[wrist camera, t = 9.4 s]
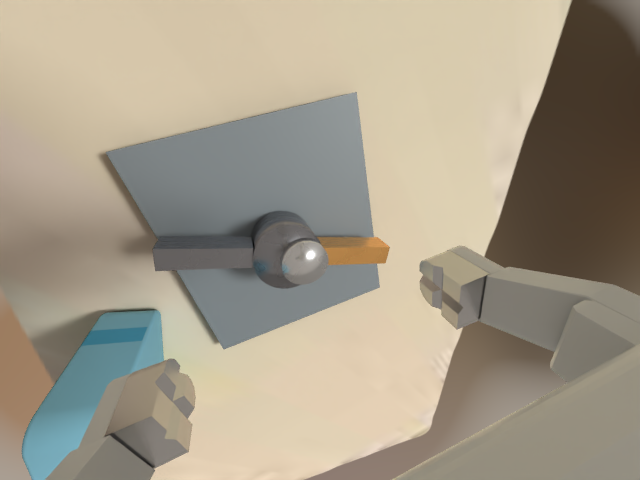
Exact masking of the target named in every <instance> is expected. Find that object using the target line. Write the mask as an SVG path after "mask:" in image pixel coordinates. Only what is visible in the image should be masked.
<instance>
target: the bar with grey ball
mask: <svg viewBox="0 0 640 480" xmlns="http://www.w3.org/2000/svg"><path fill="white" fill-rule="evenodd" d="M389 248H390V247H389V246H388V245H386V244H385V243H384V242H383V241H381V240H380V239H379V238H378V237H316V235H315V234H314V232H313V231H312V230H311V228H310V227H309V226H308V224H307V223H306V222H305V220H304V219H303V218H302V217H300V216H299V215H297V214H295V213H293V212H289V211H276V212H272V213H270V214H267V215H266V216H264V217H263V218H261V219H260V220H259V221H258V222H257V223H256V225H255V226H254V228H253V230H252V232H251V236H250V237H241V236H160V238H159V240H158V241H157V243H156V244H155V246H154V248H153V257H154V264H155V271H168V270H198V269H228V268H253V265H254V269H255V272H256V274H257V276H258V277H259V278H260V279H261V280H262V281H263V282H264V283H266V284H267V285H269V286H272V287H275V288H281V289H287V288H293V287H297V286H299V285H304V284H309V283H312V282H314V281H316V280H318V279H319V278H320V277H321V276H322V275H323V274H324V273H325V271H326V269H327V267H328V265H347V264H377V263H386V259H387V256H388V252H389Z"/></svg>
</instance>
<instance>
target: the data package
mask: <svg viewBox="0 0 640 480" xmlns="http://www.w3.org/2000/svg"><path fill="white" fill-rule="evenodd" d="M162 361H164V356H163V342H162V327H161V315H160V312H159V311H157V310H151V311H130V312H109V313H104V314H102V315H101V316H100V318H99V319H98V320H97V322H96V323H95V325H94V326H93V328H92V329H91V331H90V332H89V334H88V335H87V337H86V338H85V340H84V341H83V343H82V344H81V346H80V347H79V349H78V350H77V352H76V353H75V355H74V356H73V358H72V359H71V361H70V362H69V364H68V365H67V367H66V368H65V370H64V371H63V373H62V374H61V376H60V377H59V378H58V380H57V381H56V383H55V384H54V386H53V387H52V389H51V391H50V392H49V393H48V395H47V396H46V398H45V399H44V401H43V402H42V404H41V405H40V407H39V408H38V410H37V411H36V413H35V414H34V416H33V417H32V419H31V421H30V423H29V425H28V427H27V430H26V433H25V436H24V439H23V444H22V457H23V460H24V462H25V465H26V467H27V469H28V471H29V474H30V476H31V478H32V480H45V479H46V478H47V477H48V476H49V475H50V474H51V472H52V471H53V470H54V469H55V468H56V467H57V466H58V465H59V464H60V463H61V461H62V460H63V459H64V458H65V457H66V456H67V455H68V454H69V453H70V452H71V451H73V450H75V449H78V447H79V445H80V443H81V440H82V438H83V436H84V434H85V432H86V430H87V428H88V426H89V423H90V421H91V419H92V417H93V415H94V413H95V411H96V408H97V406H98V404H99V402H100V400H101V398H102V396H103V394H104V391H105V389H106V387H107V385H108V384H109V383H110V382H111V381H113V380H114V379H117V378H119V377H122V376H125V375H128V374H131V373H133V372H135V371H138V370H140V369H143V368H146V367H149V366H151V365H154V364H157V363H160V362H162Z"/></svg>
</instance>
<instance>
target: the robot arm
mask: <svg viewBox="0 0 640 480" xmlns="http://www.w3.org/2000/svg"><path fill="white" fill-rule="evenodd" d="M420 272H421V273H422V274H423V276H422V278H421V280H420V290H421V292H422V295H423V297H424V298H425V299H426V301H427V302H428V303H429V304H430V305H431V306H432V307H436V308H439V309H441V315H442V316H443V317H444V318H445V319H446V320H447V321H448V322H449V323H450V324H451V325H453V326H454V327H455V328H456V329H459V328H462V327H464V326H467V325H469V324H471V323H474V322H476V321H479V320H480V322H483V323H485V324H487V325H490V326H492V327H495V328H497V329H500V330H502V331H505V332H507V333H510V334H512V335H515V336H517V337H519V338H522V339H524V340H527V341H529V342H532V343H534V344H536V345H539V346H541V347H544V348H546V349H549V350H551V351H554V352H555V353H554V355H553V358H552V360H551V363H550V367H551V370H552V371H554V372H555V373H556V374H557V375H559V376H560V377H561V378H563V379H564V380H565V381H566V382H567V384H565V385H563V386H561V387H559V388H558V389H556V390H554V391H552V392H550V393H549V394H547V395H545V396H543V397H541V398H539V399H538V400H536V401H534V402H532V403H531V404H528V405H527V406H525V407H523V408H521V409H519V410H517V411H516V412H514V413H512V414H510V415H508V416H507V417H505V418H503V419H501V420H499V421H497V422H496V423H494V424H492V425H490V426H488V427H487V428H485V429H483V430H481V431H479V432H478V433H476V434H474V435H472V436H470V437H468V438H467V439H465V440H463V441H461V442H459V443H457V444H456V445H454V446H452V447H450V448H448V449H447V450H445V451H443V452H441V453H439V454H437V455H436V456H434V457H432V458H430V459H428V460H427V461H425V462H423V463H421V464H419V465H417V466H416V467H414V468H412V469H410V470H408V471H407V472H405V473H403V474H401V475H399V476H397V477H396V478H394V479H392V480H640V296H638V295H636V294H634V293H631V292H629V291H627V290H624V289H622V288H620V287H618V286H615V285H612V284H606V283H600V282H594V281H588V280H582V279H577V278H571V277H565V276H559V275H554V274H547V273H542V272H536V271H531V270H524V269H519V268H513V267H507V268H503V267H501V266H499V265H498V264H496V263H494V262H492V261H490V260H488V259H487V258H485V257H483V256H481V255H479V254H478V253H476V252H474V251H472V250H470V249H468V248H467V247H465V246H457V247H455V248H452V249H450V250H447V251H446V252H443V253H440V254H438V255H435V256H433V257H430V258H428V259H425V260H423V261H421V263H420ZM179 369H180V365H179V364H178V363H177V361H176V360H175V359H168V360H165V361H162V362H160V363H157V364H154V365H151V366H149V367H146V368H143V369H140V370H138V371H135V372H133V373H131V374H128V375H125V376H122V377H119V378H117V379H114V380H113V381H111V382H110V383H109V384H108V385H107V387H106V389H105V391H104V394H103V396H102V398H101V400H100V402H99V404H98V406H97V408H96V411H95V413H94V415H93V417H92V419H91V421H90V423H89V426H88V428H87V430H86V432H85V434H84V436H83V438H82V440H81V443H80V445H79V447H78V449H75V450H73V451H71V452H70V453H69V454H68V455H67V456H66V457H65V458H64V459H63V460H62V461H61V463H60V464H59V465H58V466H57V467H56V468H55V469H54V470H53V471H52V472H51V474H50V475H49V476H48V477H47V478H46V479H45V480H150V479H151V477H152V475H153V473H154V471H155V470H154V468H156V467H159V466H161V465H163V464H165V463H167V462H169V461H171V460H173V459H175V458H177V457H179V456H181V455H183V454H185V453H187V452H189V446H190V438H191V431H192V424H191V422H190V421H189V420H188V417H189V416H190V414H191V413H192V411H193V409H194V407H195V390H194V385H193V383H192V381H191V379H190V378H189V376H188V375H186V374H182V373H179Z"/></svg>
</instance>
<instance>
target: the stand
mask: <svg viewBox="0 0 640 480" xmlns="http://www.w3.org/2000/svg"><path fill="white" fill-rule="evenodd" d="M106 154H107V156H108V157H109V159H110V161H111V162H112V164H113V166H114V167H115V169H116V171H117V172H118V174H119V176H120V177H121V179H122V181H123V182H124V184H125V186H126V187H127V189H128V191H129V192H130V194H131V196H132V197H133V199H134V201H135V202H136V204H137V206H138V207H139V209H140V211H141V212H142V214H143V216H144V217H145V219H146V221H147V222H148V224H149V226H150V227H151V229H152V231H153V232H154V234H155V236H156V237H157V239H158V240H159V238H160V236H241V237H250V236H251V232H252V230H253V228H254V226H255V225H256V223H257V222H258V221H259V220H260V219H261V218H263V217H264V216H266V215H267V214H270V213H272V212H276V211H289V212H293V213H295V214H297V215H299V216H300V217H302V218H303V219H304V220H305V222H306V223H307V224H308V226H309V227H310V228H311V230H312V231H313V232H314V234H315V235H316V237H374V235H373V227H372V218H371V210H370V201H369V193H368V184H367V176H366V167H365V159H364V151H363V142H362V134H361V125H360V117H359V108H358V100H357V92H355V93H351V94H346V95H342V96H338V97H334V98H330V99H325V100H321V101H317V102H313V103H309V104H305V105H300V106H296V107H292V108H288V109H284V110H280V111H275V112H271V113H267V114H263V115H259V116H255V117H250V118H246V119H242V120H238V121H234V122H229V123H225V124H221V125H217V126H213V127H209V128H204V129H200V130H196V131H192V132H188V133H184V134H179V135H175V136H171V137H167V138H163V139H158V140H154V141H150V142H146V143H142V144H138V145H133V146H129V147H125V148H121V149H117V150H113V151H109V152H106ZM176 271H177V272H178V274H179V276H180V277H181V279H182V281H183V282H184V284H185V286H186V287H187V289H188V291H189V292H190V294H191V296H192V297H193V299H194V301H195V302H196V304H197V306H198V307H199V309H200V311H201V312H202V314H203V316H204V317H205V319H206V321H207V322H208V324H209V326H210V327H211V329H212V331H213V332H214V334H215V336H216V337H217V339H218V341H219V342H220V344H221V346H222V347H223V349H226V348H229V347H231V346H234V345H236V344H239V343H241V342H244V341H246V340H249V339H251V338H254V337H256V336H259V335H261V334H264V333H266V332H269V331H271V330H274V329H276V328H279V327H281V326H284V325H286V324H289V323H291V322H294V321H296V320H299V319H302V318H304V317H307V316H309V315H312V314H314V313H317V312H319V311H322V310H324V309H327V308H329V307H332V306H334V305H337V304H339V303H342V302H344V301H347V300H349V299H352V298H354V297H357V296H359V295H362V294H364V293H367V292H369V291H372V290H374V289H377V288H379V287H380V286H379V277H378V269H377V264H347V265H328V267H327V269H326V271H325V273H324V274H323V275H322V276H321V277H320V278H319V279H318V280H316V281H314V282H312V283H309V284H304V285H299V286H297V287H293V288H287V289H281V288H275V287H272V286H269V285H267V284H266V283H264V282H263V281H262V280H261V279H260V278H259V277H258V276H257V274H256V272H255V269H254V265H253V268H228V269H198V270H176Z"/></svg>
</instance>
